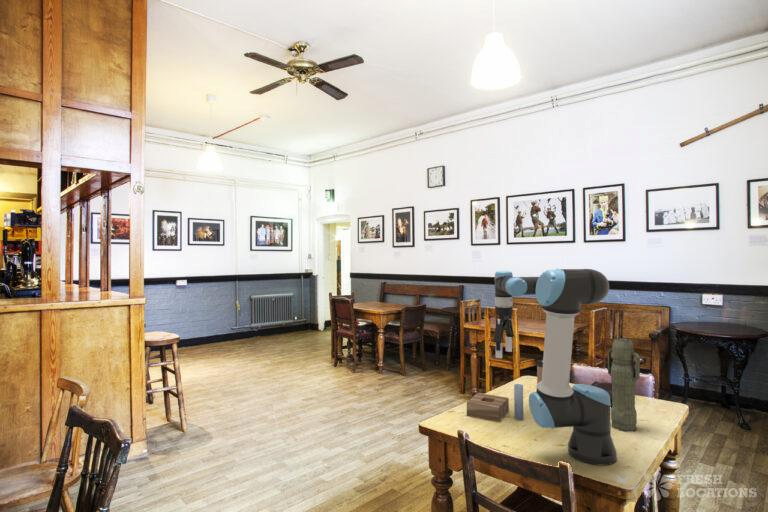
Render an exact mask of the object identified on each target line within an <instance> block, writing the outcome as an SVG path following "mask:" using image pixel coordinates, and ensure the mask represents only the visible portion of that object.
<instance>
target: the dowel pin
mask: <svg viewBox="0 0 768 512" xmlns="http://www.w3.org/2000/svg"><path fill="white" fill-rule="evenodd" d="M513 388H514V389H513V395H514V397H513V399H514V400H513V401H514V403H513V405H514V407H513V408H514V413H513V414H514V415H513V416H514V420H515V421H524V385H523V384H519V383H517V384H516V383H515V384H514V386H513Z"/></svg>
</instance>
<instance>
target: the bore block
mask: <svg viewBox="0 0 768 512" xmlns="http://www.w3.org/2000/svg"><path fill="white" fill-rule="evenodd" d="M509 408H510V400H509V397H506V396H500V395H494V394H487V393H481V392H477V393H475V394H474V395H473V396H472V397H470V399H468V400H467V401H466V417H471V418H477V419H483V420H486V421H492V422H497V423H500V422H501V421H502V420H503V419H504V417H505V416H506V415H507V414H508V413H509V411H510V409H509Z"/></svg>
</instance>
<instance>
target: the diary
mask: <svg viewBox="0 0 768 512" xmlns="http://www.w3.org/2000/svg"><path fill="white" fill-rule="evenodd" d="M590 385H591V386H595V387H598V388H601V389H603V390H605V391H607V392H608V393H609V395H610V403H611V406H610V407H611V408H612V383H611V382H606V381H597V380H595V381H593V383H591V384H590ZM611 408H610V409H611Z"/></svg>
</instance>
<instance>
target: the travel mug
mask: <svg viewBox="0 0 768 512" xmlns="http://www.w3.org/2000/svg"><path fill="white" fill-rule="evenodd" d="M536 370H537V371H536V385H537V384H538V383H539V382H540V381H542V371H543V358H541V359H537V360H536Z"/></svg>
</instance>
